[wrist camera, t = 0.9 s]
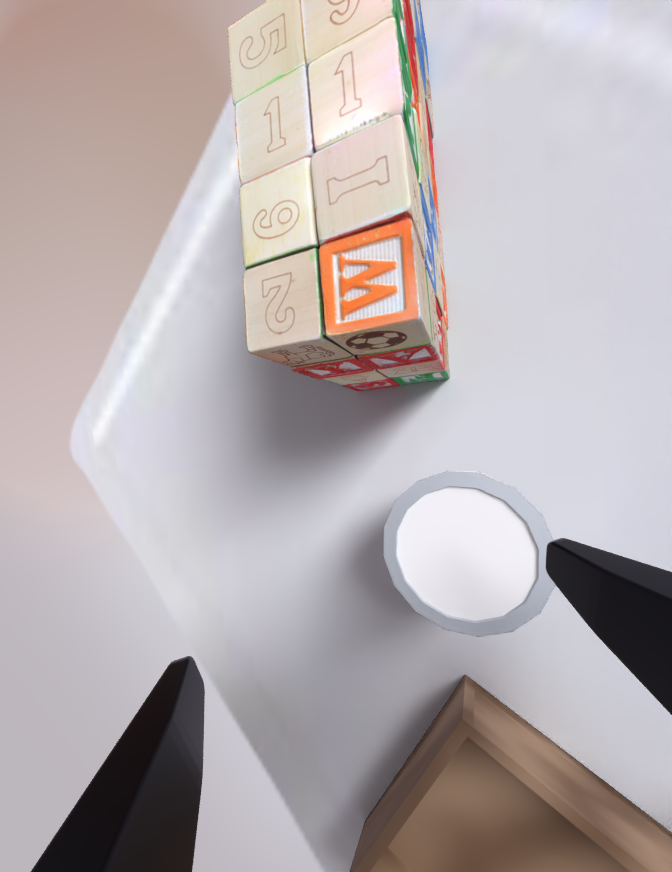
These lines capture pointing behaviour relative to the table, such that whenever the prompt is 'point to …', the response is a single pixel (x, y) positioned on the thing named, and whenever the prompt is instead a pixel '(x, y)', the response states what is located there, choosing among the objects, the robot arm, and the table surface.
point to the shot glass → (468, 553)
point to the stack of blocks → (339, 191)
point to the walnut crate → (503, 804)
